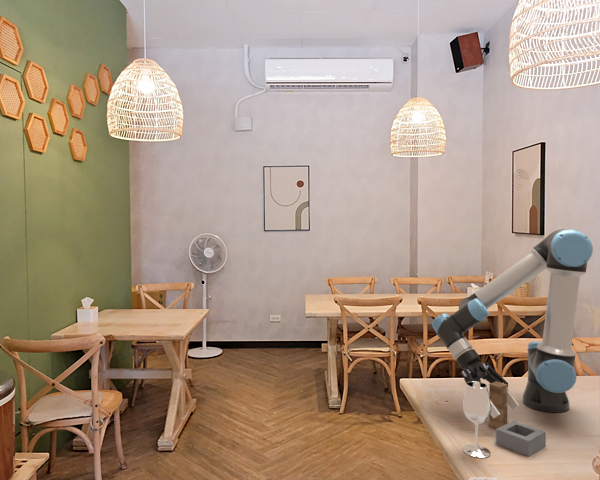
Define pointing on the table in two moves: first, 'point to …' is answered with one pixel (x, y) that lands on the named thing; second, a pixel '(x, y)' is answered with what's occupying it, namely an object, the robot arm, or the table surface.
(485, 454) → the wineglass
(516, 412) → the table surface
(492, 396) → the wooden block
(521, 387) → the table surface
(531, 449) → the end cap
